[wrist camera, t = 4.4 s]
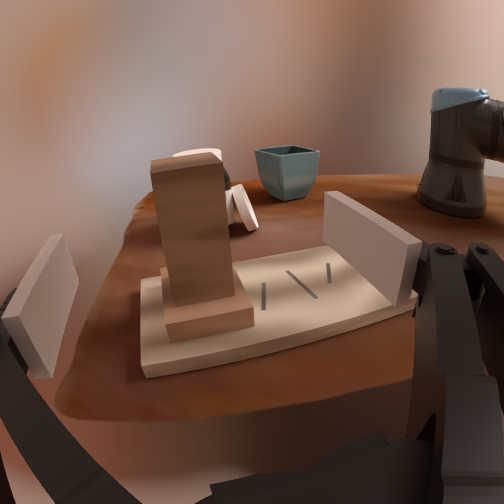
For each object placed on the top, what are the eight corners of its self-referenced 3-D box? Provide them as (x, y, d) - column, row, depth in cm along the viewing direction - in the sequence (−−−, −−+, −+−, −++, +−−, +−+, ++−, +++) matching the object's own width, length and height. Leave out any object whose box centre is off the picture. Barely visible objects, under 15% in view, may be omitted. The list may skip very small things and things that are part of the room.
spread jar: (171, 225, 51) (161, 153, 45) (235, 209, 55) (230, 142, 50) (196, 254, 41) (184, 165, 36) (272, 233, 46) (269, 151, 40)
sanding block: (164, 285, 32) (140, 158, 26) (230, 272, 34) (218, 147, 28) (170, 343, 25) (134, 182, 19) (254, 326, 26) (244, 166, 20)
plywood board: (144, 290, 34) (141, 279, 34) (368, 247, 40) (369, 237, 40) (146, 378, 23) (141, 365, 22) (433, 301, 29) (436, 289, 29)
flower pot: (293, 187, 65) (292, 144, 61) (320, 198, 58) (321, 150, 54) (255, 194, 62) (253, 149, 58) (280, 207, 55) (279, 155, 51)
